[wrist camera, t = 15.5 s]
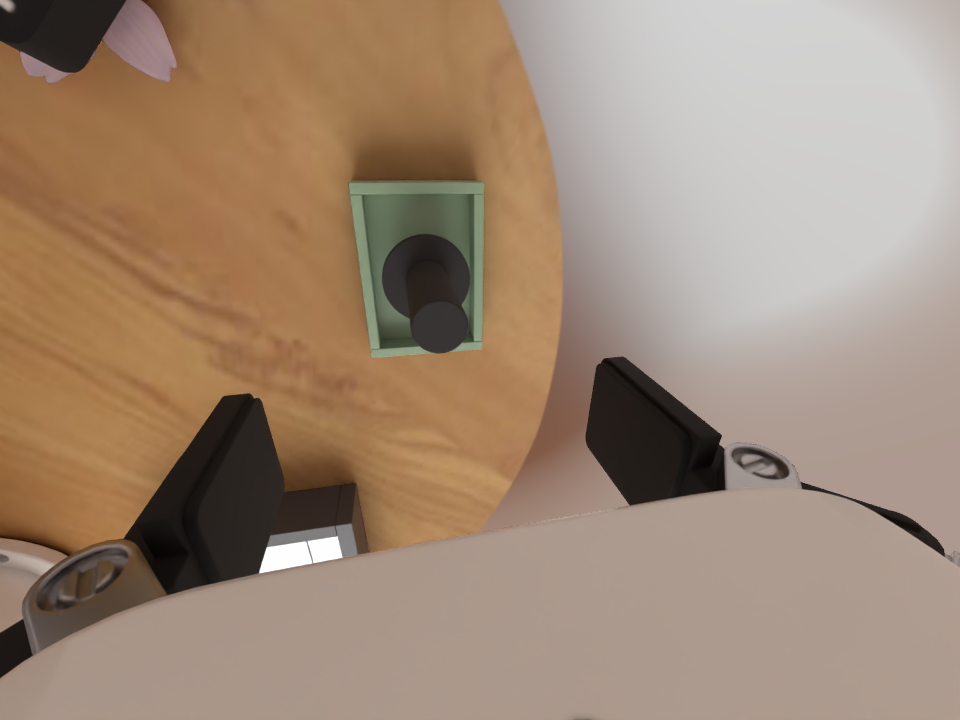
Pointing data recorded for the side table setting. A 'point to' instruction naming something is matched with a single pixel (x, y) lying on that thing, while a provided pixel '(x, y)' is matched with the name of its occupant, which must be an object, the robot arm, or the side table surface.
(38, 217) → the side table surface
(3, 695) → the robot arm
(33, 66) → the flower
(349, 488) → the sink basin
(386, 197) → the soap tray
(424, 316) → the plug
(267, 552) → the plate
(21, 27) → the decorative sign
